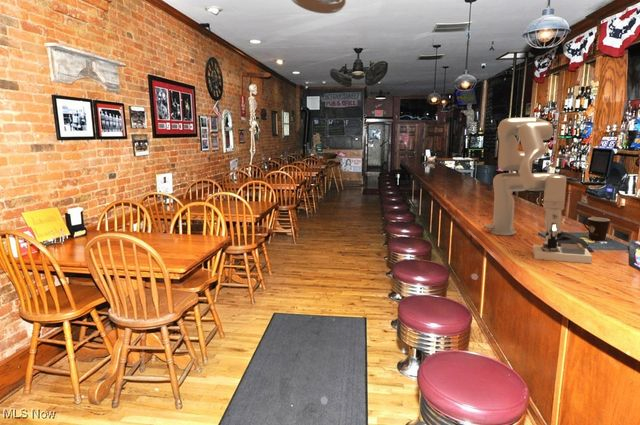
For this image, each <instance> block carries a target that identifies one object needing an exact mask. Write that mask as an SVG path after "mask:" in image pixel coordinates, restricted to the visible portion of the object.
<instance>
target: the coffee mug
mask: <svg viewBox="0 0 640 425" xmlns="http://www.w3.org/2000/svg"><path fill="white" fill-rule="evenodd" d="M586 221H587V223H588V224H587V225H586V224H585V222H586ZM610 221H611V219H609V218H605V217H594V216H593V217H588V218H585V219H583V221H582V224H583V226H584V228H585V229H586V230H587V231H588V240H590V239H591V240H590V241H593V240H595V241H594V242H605V241H606V239H607V234H608V230H609V225H610V223H611V222H610Z"/></svg>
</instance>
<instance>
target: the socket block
mask: <svg viewBox="0 0 640 425" xmlns="http://www.w3.org/2000/svg"><path fill="white" fill-rule="evenodd" d="M532 254H533V258H534V259H535V260H542V259H544V261H555V262H568V263H582V264H592V263H593V262H592V261H593V255H592V254H591V252H589V251H588V250H587V249H585V254H572V253H563V252H562V250H561V247H559V246H558V247H557V252H547V251H543V245H537V244H533V245H532Z"/></svg>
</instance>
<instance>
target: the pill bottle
mask: <svg viewBox="0 0 640 425" xmlns="http://www.w3.org/2000/svg"><path fill="white" fill-rule="evenodd" d="M545 236H546V240H543V245H542V246H543V251H547V252H557V247H559V246H558V243H557V247H556V248H548V247H547V245H548V238H549V235H546V234H545Z"/></svg>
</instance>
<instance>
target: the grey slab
mask: <svg viewBox="0 0 640 425" xmlns="http://www.w3.org/2000/svg"><path fill="white" fill-rule="evenodd" d="M561 250H562V252H563V253H572V254H585V249H584V247H583V246H582V245H581V244H579V243H577V244H562V243H561Z"/></svg>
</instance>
